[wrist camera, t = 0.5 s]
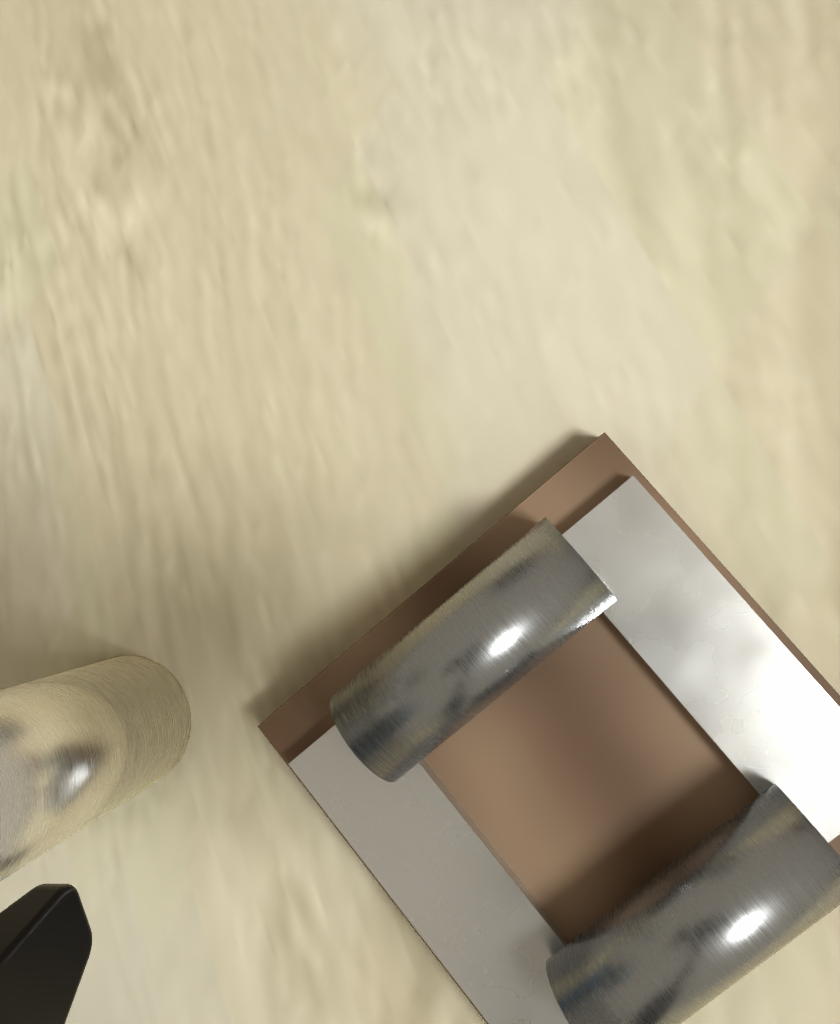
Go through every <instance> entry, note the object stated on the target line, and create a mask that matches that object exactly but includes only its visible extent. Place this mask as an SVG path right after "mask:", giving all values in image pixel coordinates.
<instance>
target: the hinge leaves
mask: <svg viewBox="0 0 840 1024" xmlns="http://www.w3.org/2000/svg"><path fill="white" fill-rule="evenodd" d="M602 612H603V613H604V614H605V615H606V616H607V617H608V619H609V620H610V621H611V622H612V623H613V624H614V626H615V627H616V628H617V629H618V630H619V631H620V632H621V634H622V635H623V636H624V637H625V638H626V639H627V641H628V642H629V643H630V644H631V645H632V646H633V648H634V649H635V650H636V651H637V652H638V653H639V655H640V656H641V657H642V658H643V659H644V660H645V662H646V663H647V664H648V665H649V666H650V667H651V669H652V670H653V671H654V672H655V673H656V674H657V676H658V677H659V678H660V679H661V680H662V681H663V682H664V684H665V685H666V686H667V687H668V688H669V689H670V691H671V692H672V693H673V694H674V695H675V696H676V698H677V699H678V700H679V701H680V702H681V703H682V705H683V706H684V707H685V708H686V709H687V710H688V712H689V713H690V714H691V715H692V716H693V717H694V719H695V720H696V721H697V722H698V723H699V724H700V726H701V727H702V728H703V729H704V730H705V731H706V732H707V734H708V735H709V736H710V737H711V738H712V739H713V741H714V742H715V743H716V744H717V745H718V746H719V748H720V749H721V750H722V751H723V752H724V753H725V755H726V756H727V757H728V758H729V759H730V760H731V762H732V763H733V764H734V765H735V766H736V767H737V769H738V770H739V771H740V772H741V773H742V774H743V776H744V777H745V778H746V779H747V780H748V781H749V782H750V784H751V785H752V786H753V787H754V788H755V789H756V791H757V792H758V793H759V794H760V795H759V796H758V797H757V798H755V799H754V800H753V801H751V802H750V803H749V804H748V805H746V806H745V807H744V808H742V809H741V810H740V811H738V812H737V813H736V814H735V815H733V816H732V817H731V818H729V819H728V820H727V821H726V822H724V823H723V824H722V825H720V826H719V827H718V828H716V829H715V830H714V831H713V832H711V833H710V834H709V835H707V836H706V837H705V838H704V839H702V840H701V841H700V842H698V843H697V844H696V845H694V846H693V847H692V848H691V849H689V850H688V851H687V852H685V853H684V854H683V855H681V856H680V857H679V858H678V859H676V860H675V861H674V862H672V863H671V864H670V865H669V866H667V867H666V868H665V869H663V870H662V871H661V872H659V873H658V874H657V875H656V876H654V877H653V878H652V879H650V880H649V881H648V882H647V883H645V884H644V885H643V886H641V887H640V888H639V889H637V890H636V891H635V892H634V893H632V894H631V895H630V896H628V897H627V898H626V899H625V900H623V901H622V902H621V903H619V904H618V905H617V906H615V907H614V908H613V909H612V910H610V911H609V912H608V913H606V914H605V915H604V916H602V917H601V918H600V919H599V920H597V921H596V922H595V923H593V924H592V925H591V926H590V927H588V928H587V929H586V930H584V931H583V932H582V933H580V934H579V935H578V936H577V937H575V938H574V939H573V940H571V941H570V942H569V940H568V939H567V938H566V937H565V935H564V934H563V933H562V932H561V930H560V929H559V928H558V927H557V925H556V924H555V923H554V922H553V920H552V919H551V918H550V917H549V915H548V914H547V913H546V912H545V910H544V909H543V908H542V907H541V905H540V904H539V903H538V902H537V900H536V899H535V898H534V897H533V895H532V894H531V893H530V892H529V890H528V889H527V888H526V887H525V885H524V884H523V883H522V882H521V880H520V879H519V878H518V877H517V875H516V874H515V873H514V872H513V870H512V869H511V868H510V867H509V865H508V864H507V863H506V862H505V860H504V859H503V858H502V857H501V855H500V854H499V853H498V852H497V850H496V849H495V848H494V847H493V845H492V844H491V843H490V842H489V840H488V839H487V838H486V837H485V835H484V834H483V833H482V832H481V830H480V829H479V828H478V827H477V825H476V824H475V823H474V822H473V820H472V819H471V818H470V817H469V815H468V814H467V813H466V812H465V810H464V809H463V808H462V807H461V805H460V804H459V803H458V802H457V800H456V799H455V798H454V797H453V795H452V794H451V793H450V792H449V790H448V789H447V788H446V787H445V785H444V784H443V783H442V782H441V780H440V779H439V778H438V777H437V775H436V774H435V773H434V772H433V770H432V769H431V768H430V767H429V765H428V764H427V763H426V762H425V760H424V758H425V757H426V756H428V755H429V754H430V753H431V752H433V751H434V750H435V749H436V748H437V747H439V746H440V745H441V744H442V743H444V742H445V741H446V740H447V739H448V738H450V737H451V736H452V735H453V734H455V733H456V732H457V731H458V730H459V729H461V728H462V727H463V726H464V725H466V724H467V723H468V722H469V721H470V720H472V719H473V718H474V717H475V716H477V715H478V714H479V713H480V712H481V711H483V710H484V709H485V708H486V707H487V706H489V705H490V704H491V703H492V702H494V701H495V700H496V699H497V698H498V697H500V696H501V695H502V694H503V693H505V692H506V691H507V690H508V689H509V688H511V687H512V686H513V685H514V684H516V683H517V682H518V681H519V680H520V679H522V678H523V677H524V676H525V675H527V674H528V673H529V672H530V671H531V670H533V669H534V668H535V667H536V666H538V665H539V664H540V663H541V662H542V661H544V660H545V659H546V658H547V657H548V656H550V655H551V654H552V653H553V652H555V651H556V650H557V649H558V648H559V647H561V646H562V645H563V644H564V643H566V642H567V641H568V640H569V639H570V638H572V637H573V636H574V635H575V634H577V633H578V632H579V631H580V630H581V629H583V628H584V627H585V626H586V625H588V624H589V623H590V622H591V621H592V620H594V619H595V618H596V617H597V616H599V615H600V614H601V613H602ZM329 704H330V711H331V715H332V718H333V720H334V723H335V725H334V726H333V727H331V728H330V729H329V730H328V731H327V732H325V733H324V734H323V735H322V736H321V737H320V738H318V739H317V740H316V741H315V742H314V743H312V744H311V745H310V746H309V747H308V748H306V749H305V750H304V751H303V752H302V753H300V754H299V755H298V756H297V757H296V758H294V759H293V760H292V761H291V762H290V763H289V766H290V767H291V768H292V770H293V771H294V772H295V774H296V775H297V776H298V777H299V779H300V780H301V781H302V783H303V784H304V785H305V786H306V788H307V789H308V790H309V792H310V793H311V794H312V796H313V797H314V798H315V799H316V801H317V802H318V803H319V805H320V806H321V807H322V808H323V810H324V811H325V812H326V814H327V815H328V816H329V818H330V819H331V820H332V821H333V823H334V824H335V825H336V827H337V828H338V829H339V831H340V832H341V833H342V834H343V836H344V837H345V838H346V840H347V841H348V842H349V843H350V845H351V846H352V847H353V849H354V850H355V851H356V853H357V854H358V855H359V856H360V858H361V859H362V860H363V862H364V863H365V864H366V865H367V867H368V868H369V869H370V871H371V872H372V873H373V875H374V876H375V877H376V878H377V880H378V881H379V882H380V884H381V885H382V886H383V887H384V889H385V890H386V891H387V893H388V894H389V895H390V897H391V898H392V899H393V900H394V902H395V903H396V904H397V906H398V907H399V908H400V910H401V911H402V912H403V913H404V915H405V916H406V917H407V919H408V920H409V921H410V922H411V924H412V925H413V926H414V928H415V929H416V930H417V932H418V933H419V934H420V935H421V937H422V938H423V939H424V941H425V942H426V943H427V944H428V946H429V947H430V948H431V950H432V951H433V952H434V954H435V955H436V956H437V957H438V959H439V960H440V961H441V963H442V964H443V965H444V967H445V968H446V969H447V970H448V972H449V973H450V974H451V976H452V977H453V978H454V979H455V981H456V982H457V983H458V985H459V986H460V987H461V989H462V990H463V991H464V992H465V994H466V995H467V996H468V998H469V999H470V1000H471V1001H472V1003H473V1004H474V1005H475V1007H476V1008H477V1009H478V1011H479V1012H480V1013H481V1014H482V1016H483V1017H484V1018H485V1020H486V1021H487V1022H488V1023H489V1024H681V1023H682V1022H683V1021H685V1020H686V1019H688V1018H689V1017H690V1016H692V1015H693V1014H694V1013H696V1012H697V1011H698V1010H700V1009H701V1008H702V1007H704V1006H705V1005H706V1004H708V1003H709V1002H710V1001H712V1000H713V999H714V998H716V997H717V996H718V995H720V994H721V993H722V992H724V991H725V990H726V989H728V988H729V987H730V986H732V985H733V984H734V983H736V982H737V981H738V980H740V979H741V978H742V977H744V976H745V975H746V974H748V973H749V972H750V971H752V970H753V969H755V968H756V967H757V966H759V965H760V964H761V963H763V962H764V961H765V960H767V959H768V958H769V957H771V956H772V955H773V954H775V953H776V952H777V951H779V950H780V949H781V948H783V947H784V946H785V945H787V944H788V943H789V942H791V941H792V940H793V939H795V938H796V937H797V936H799V935H800V934H801V933H803V932H804V931H805V930H807V929H808V928H809V927H811V926H812V925H813V924H815V923H816V922H818V921H819V920H820V919H822V918H823V917H824V916H826V915H827V914H828V913H830V912H831V911H832V910H834V909H835V908H836V907H838V906H839V905H840V855H839V854H838V853H837V852H836V851H835V850H834V848H833V847H832V846H831V845H830V844H829V842H830V841H831V840H833V839H834V838H835V837H837V836H838V835H839V834H840V707H839V706H838V705H837V704H836V703H835V701H834V700H833V699H832V698H831V697H830V696H829V695H828V694H827V692H826V691H825V690H824V689H823V688H822V687H821V686H820V685H819V683H818V682H817V681H816V680H815V679H814V678H813V677H812V676H811V674H810V673H809V672H808V671H807V670H806V669H805V668H804V667H803V666H802V664H801V663H800V662H799V661H798V660H797V659H796V658H795V657H794V655H793V654H792V653H791V652H790V651H789V650H788V649H787V648H786V646H785V645H784V644H783V643H782V642H781V641H780V640H779V639H778V637H777V636H776V635H775V634H774V633H773V632H772V631H771V630H770V628H769V627H768V626H767V625H766V624H765V623H764V622H763V621H762V619H761V618H760V617H759V616H758V615H757V614H756V613H755V612H754V611H753V609H752V608H751V607H750V606H749V605H748V604H747V603H746V602H745V600H744V599H743V598H742V597H741V596H740V595H739V594H738V593H737V591H736V590H735V589H734V588H733V587H732V586H731V585H730V584H729V582H728V581H727V580H726V579H725V578H724V577H723V576H722V575H721V573H720V572H719V571H718V570H717V569H716V568H715V567H714V566H713V565H712V563H711V562H710V561H709V560H708V559H707V558H706V557H705V556H704V554H703V553H702V552H701V551H700V550H699V549H698V548H697V547H696V545H695V544H694V543H693V542H692V541H691V540H690V539H689V538H688V536H687V535H686V534H685V533H684V532H683V531H682V530H681V529H680V527H679V526H678V525H677V524H676V523H675V522H674V521H673V520H672V518H671V517H670V516H669V515H668V514H667V513H666V512H665V511H664V510H663V508H662V507H661V506H660V505H659V504H658V503H657V502H656V501H655V499H654V498H653V497H652V496H651V495H650V494H649V493H648V492H647V490H646V489H645V488H644V487H643V486H642V485H641V484H640V483H639V481H638V480H637V479H636V478H635V477H634V476H632V477H630V478H629V479H628V480H627V481H625V482H624V483H623V484H622V485H621V486H619V487H618V488H617V489H616V490H615V491H613V492H612V493H611V494H610V495H609V496H607V497H606V498H605V499H604V500H603V501H601V502H600V503H599V504H598V505H597V506H595V507H594V508H593V509H592V510H591V511H589V512H588V513H587V514H586V515H585V516H584V517H582V518H581V519H580V520H579V521H578V522H576V523H575V524H574V525H573V526H572V527H570V528H569V529H568V530H567V531H566V532H564V533H563V534H561V533H560V532H559V531H558V530H557V529H556V528H555V527H554V526H553V525H552V523H551V522H550V521H549V520H548V519H547V518H546V517H544V518H543V519H542V520H541V521H540V522H539V523H537V524H536V525H535V526H534V527H533V528H531V529H530V530H529V531H528V532H527V533H525V534H524V535H523V536H522V537H521V538H520V539H518V540H517V541H516V542H515V543H514V544H512V545H511V546H510V547H509V548H508V549H506V550H505V551H504V552H503V553H502V554H501V555H499V556H498V557H497V558H496V559H495V560H493V561H492V562H491V563H490V564H489V565H487V566H486V567H485V568H484V569H483V570H482V571H480V572H479V573H478V574H477V575H476V576H474V577H473V578H472V579H471V580H470V581H468V582H467V583H466V584H465V585H464V586H463V587H461V588H460V589H459V590H458V591H457V592H455V593H454V594H453V595H452V596H451V597H449V598H448V599H447V600H446V601H445V602H444V603H442V604H441V605H440V606H439V607H438V608H436V609H435V610H434V611H433V612H432V613H430V614H429V615H428V616H427V617H426V618H425V619H423V620H422V621H421V622H420V623H419V624H417V625H416V626H415V627H414V628H413V629H411V630H410V631H409V632H408V633H407V634H406V635H404V636H403V637H402V638H401V639H400V640H398V641H397V642H396V643H395V644H394V645H392V646H391V647H390V648H389V649H388V650H387V651H385V652H384V653H383V654H382V655H381V656H379V657H378V658H377V659H376V660H375V661H373V662H372V663H371V664H370V665H369V666H368V667H366V668H365V669H364V670H363V671H362V672H360V673H359V674H358V675H357V676H356V677H354V678H353V679H352V680H351V681H350V682H349V683H347V684H346V685H345V686H344V687H343V688H341V689H340V690H339V691H338V692H337V693H335V694H334V695H333V696H332V697H331V699H330V703H329Z"/></svg>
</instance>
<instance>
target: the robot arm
mask: <svg viewBox="0 0 840 1024" xmlns="http://www.w3.org/2000/svg"><path fill="white" fill-rule="evenodd" d="M91 946H92V932H91V928H90V926H89V923H88V920H87V917H86V914H85V911H84V908H83V905H82V903H81V900H80V897H79V894H78V892H77V890H76V889H75V888H74V887H73V886H72V885H69V884H42V885H39V886H37V887H35V888H33V889H32V890H30V891H29V892H28V893H26V894H25V895H24V896H22V897H21V898H20V899H18V900H17V901H16V902H14V903H13V904H12V905H10V906H9V907H8V908H6V909H5V910H4V911H2V912H1V913H0V1024H65V1022H66V1019H67V1016H68V1014H69V1011H70V1008H71V1005H72V1002H73V1000H74V997H75V994H76V991H77V989H78V986H79V983H80V980H81V978H82V975H83V972H84V969H85V966H86V964H87V961H88V958H89V955H90V951H91Z"/></svg>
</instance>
